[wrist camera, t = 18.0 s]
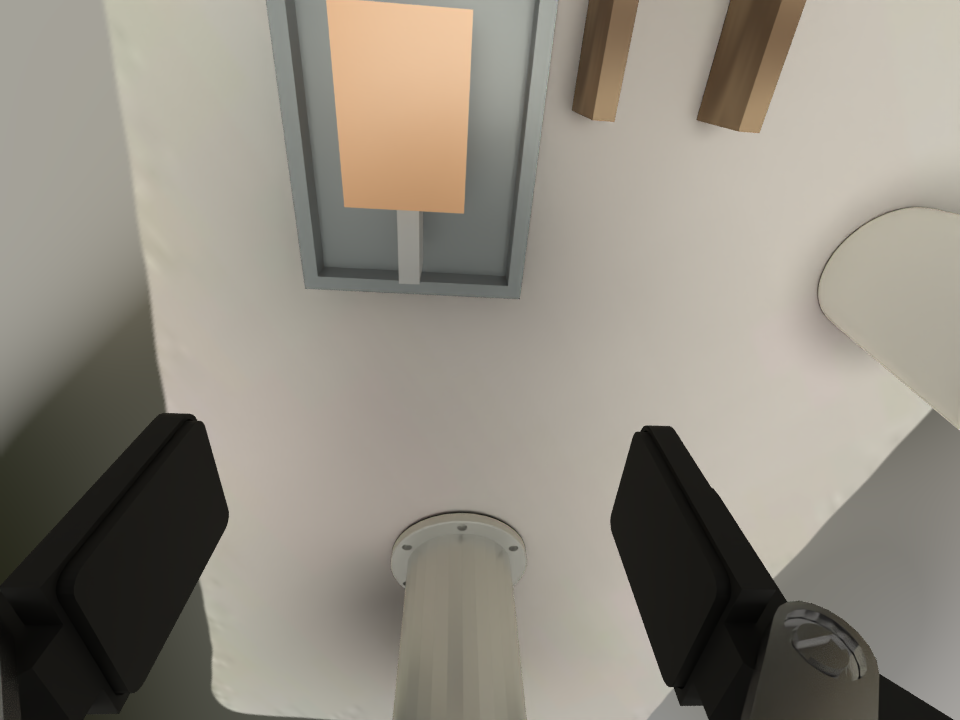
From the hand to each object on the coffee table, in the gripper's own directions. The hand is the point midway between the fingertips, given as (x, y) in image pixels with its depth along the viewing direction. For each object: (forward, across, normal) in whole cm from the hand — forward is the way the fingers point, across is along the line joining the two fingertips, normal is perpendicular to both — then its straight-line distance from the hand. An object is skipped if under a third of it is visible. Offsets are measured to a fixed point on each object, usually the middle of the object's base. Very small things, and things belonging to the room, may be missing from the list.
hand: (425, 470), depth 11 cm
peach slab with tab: (+20, +2, -5) cm, 20 cm away
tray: (+20, +2, -5) cm, 21 cm away
